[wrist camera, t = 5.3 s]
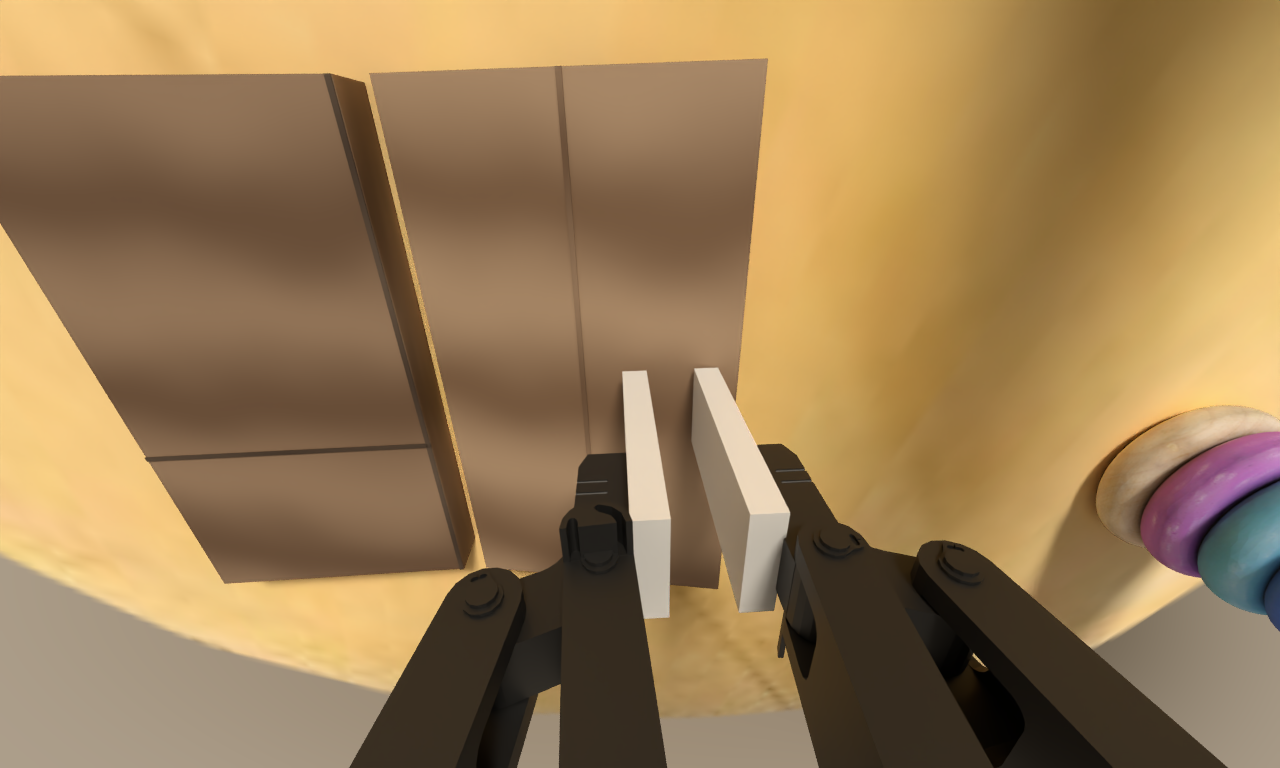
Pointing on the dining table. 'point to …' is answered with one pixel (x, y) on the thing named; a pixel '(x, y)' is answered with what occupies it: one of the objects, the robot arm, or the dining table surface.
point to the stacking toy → (1204, 501)
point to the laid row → (243, 309)
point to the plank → (577, 272)
